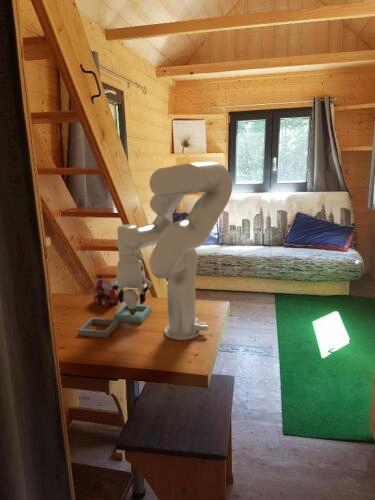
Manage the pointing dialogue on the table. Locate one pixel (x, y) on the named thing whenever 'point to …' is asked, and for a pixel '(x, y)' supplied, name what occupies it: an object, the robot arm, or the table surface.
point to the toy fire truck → (105, 293)
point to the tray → (138, 317)
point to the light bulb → (131, 300)
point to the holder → (98, 333)
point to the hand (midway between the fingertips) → (132, 302)
